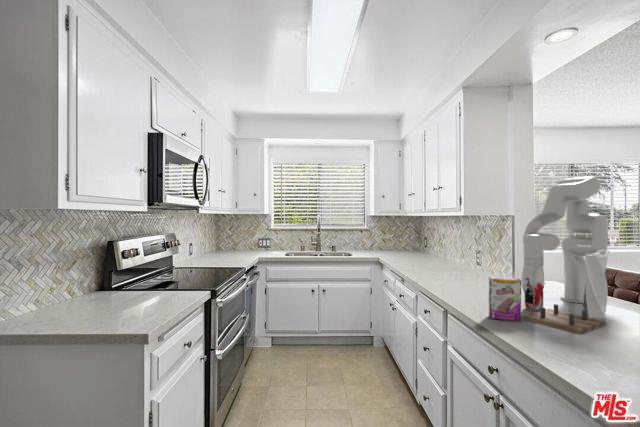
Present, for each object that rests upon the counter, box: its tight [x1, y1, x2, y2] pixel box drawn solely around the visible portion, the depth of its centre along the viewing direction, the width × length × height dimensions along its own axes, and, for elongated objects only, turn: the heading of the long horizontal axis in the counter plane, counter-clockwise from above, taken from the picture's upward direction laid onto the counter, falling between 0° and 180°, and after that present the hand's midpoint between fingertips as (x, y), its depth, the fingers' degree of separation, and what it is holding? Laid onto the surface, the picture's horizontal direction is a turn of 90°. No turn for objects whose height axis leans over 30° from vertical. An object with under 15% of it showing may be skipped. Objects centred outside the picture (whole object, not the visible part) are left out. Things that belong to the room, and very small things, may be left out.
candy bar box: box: [488, 276, 522, 322], centre depth 138 cm, size 11×5×16 cm, turn 71°
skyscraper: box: [582, 249, 610, 320], centre depth 141 cm, size 8×8×28 cm
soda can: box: [524, 283, 544, 312], centre depth 152 cm, size 7×7×12 cm
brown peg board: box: [522, 303, 607, 335], centre depth 133 cm, size 20×20×5 cm
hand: (534, 301), depth 152 cm, fingers closed on soda can, 7 cm apart
